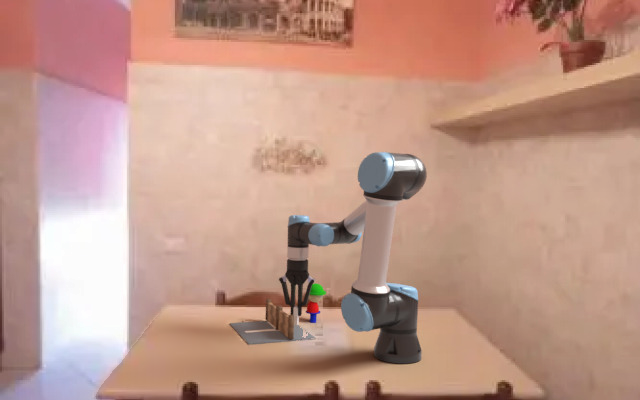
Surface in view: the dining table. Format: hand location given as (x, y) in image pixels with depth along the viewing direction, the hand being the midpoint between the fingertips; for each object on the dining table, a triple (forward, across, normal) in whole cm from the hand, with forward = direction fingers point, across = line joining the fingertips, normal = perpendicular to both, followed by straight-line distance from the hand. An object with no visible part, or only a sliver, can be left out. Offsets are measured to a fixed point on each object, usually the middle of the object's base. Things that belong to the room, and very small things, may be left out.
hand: (295, 324), depth 203 cm
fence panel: (+3, +3, +2) cm, 5 cm away
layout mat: (+4, +10, -4) cm, 11 cm away
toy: (+4, -4, -22) cm, 23 cm away
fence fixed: (+4, +11, -11) cm, 16 cm away
